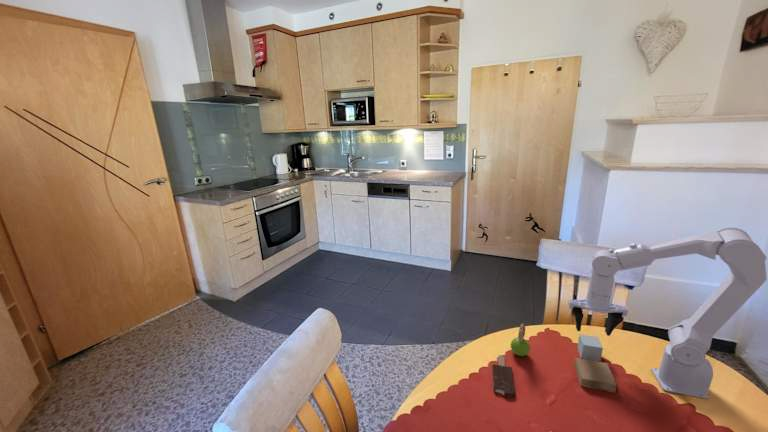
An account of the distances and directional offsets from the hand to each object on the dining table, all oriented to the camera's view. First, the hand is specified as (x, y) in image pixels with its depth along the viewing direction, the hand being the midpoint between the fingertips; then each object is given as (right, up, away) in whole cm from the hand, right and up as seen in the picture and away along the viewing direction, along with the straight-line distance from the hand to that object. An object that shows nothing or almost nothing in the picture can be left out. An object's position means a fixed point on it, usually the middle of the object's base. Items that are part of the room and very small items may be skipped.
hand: (592, 331), depth 96 cm
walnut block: (-4, -11, -6) cm, 13 cm away
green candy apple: (-20, -9, +4) cm, 23 cm away
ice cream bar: (-28, -12, -4) cm, 31 cm away
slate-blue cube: (0, -8, +3) cm, 8 cm away
